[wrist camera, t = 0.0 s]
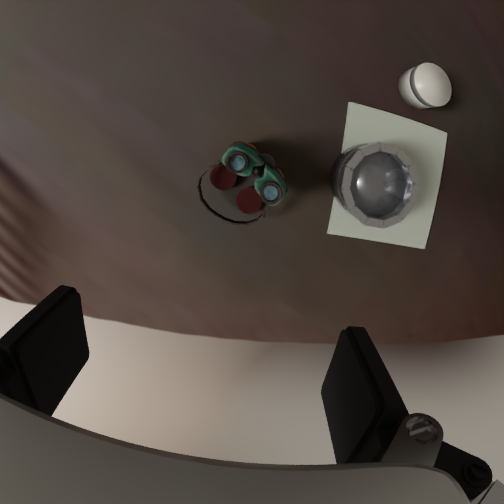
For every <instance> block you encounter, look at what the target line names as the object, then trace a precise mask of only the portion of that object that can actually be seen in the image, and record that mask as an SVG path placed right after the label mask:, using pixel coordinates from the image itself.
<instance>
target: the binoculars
mask: <svg viewBox="0 0 504 504" xmlns="http://www.w3.org/2000/svg"><path fill="white" fill-rule="evenodd" d="M209 167H211V168H212V167H214V169H213V170H212V172H211V174H210V180H211V183H212V184H213V186H214V187H216V188H217V189H220V190H226V189H229V188H231V187H232V186H233V185H234V183H235V181H236V178H237V174H238V175H240V176H250V175H251V174H252V175H253V176H254V178H255V181H254V186H252V187H247V188H245V189H243V190H242V191H241V192H240V193H239V194H238V196H237V205H238V207H239V209H240V210H241V211H242V212H244V213H248V214H251V213H255V212H256V211H258V210H259V209H260V208H261V206H262V204H263V202H264V203H265V204H266V205H265V207H264V210H263V214H261V215H260V216H259V217H258V218H257V219H254V220H251V221H247V222H246V221H234V220H231V219H228V218H225V217H224V216H222V215H220V214H218V213H217V212H216V211H214V210H213V209H212V208H210V207H209V205H208V204H207V203H206V201H205V200H204V199H203V196H202V191H201V186H200V184H201V179H202V176H203V175H204V174H205V173H206V172H207V171H208V170H209V169H211V168H209V169H208V170H206V171H205V172H204V173H203V174H202V175H201V176H200V177H199V181H198V186H197V188H198V192H199V197H200V201H201V202H202V203H203V205H204V206H205V207H206V209H207V210H208V211H210V212H211V213H212V214H214V215H215V216H216V217H218V218H220V219H222V220H223V221H226V222H229V223H232V224H239V225H248V224H251V223H254V222H257V221H258V220H259V219H260V218H262V217H264V218H265V213H266V211H267V210H268V209H269V207H270V206H276V205H277V204H279V203H280V202H281V201H282V200H283V199H284V198H285V195H286V192H287V183H286V180H285V179H284V176H283V173H282V172H281V170H280V169H278V168H276V167H275V160H274V159H273V156H270V154H266V153H264V154H261V153H260V152H259V151H258V150H257V149H256V148H255V146H254V145H252V144H250V143H244V142H234V143H233V144H231V145H230V147H228V148H227V150H226V152H225V153H224V155H223V156H222V160H220V161H218V162H216V163H215V164H212V165H211V166H209ZM255 168H257V170H258V172H257V174H256V175H255V174H254V173H253V172H254V170H255ZM265 208H266V209H265Z"/></svg>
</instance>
